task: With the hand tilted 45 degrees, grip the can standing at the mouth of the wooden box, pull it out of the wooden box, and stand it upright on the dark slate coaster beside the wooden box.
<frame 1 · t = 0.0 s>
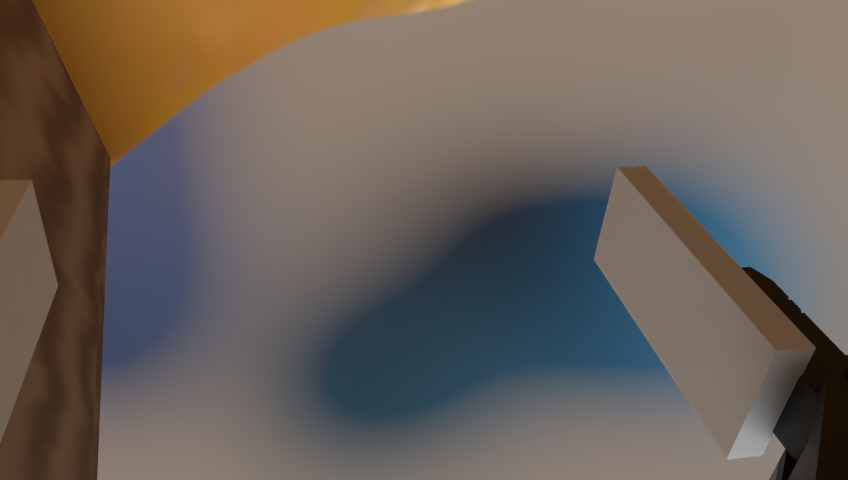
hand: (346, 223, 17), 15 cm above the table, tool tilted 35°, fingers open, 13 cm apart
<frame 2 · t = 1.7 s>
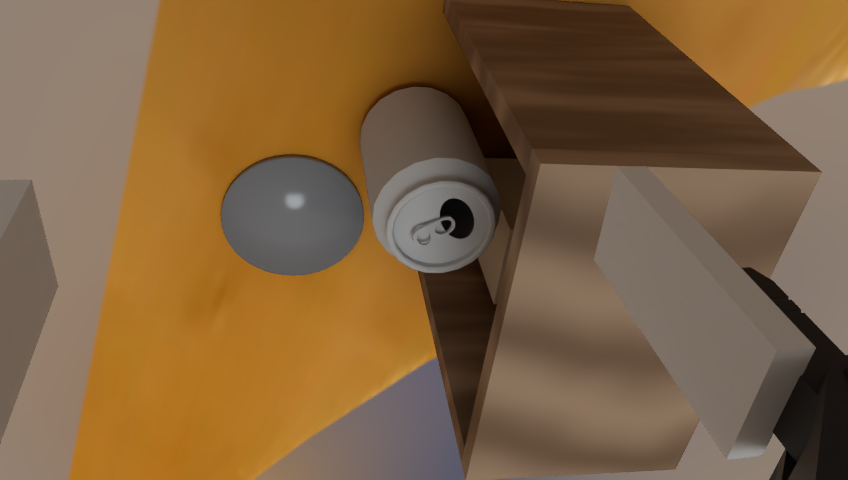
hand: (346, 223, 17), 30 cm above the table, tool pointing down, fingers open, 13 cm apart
wooden box: (511, 136, 51), on the table
can: (412, 130, 50), on the table
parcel: (514, 194, 54), on the table
coaster: (293, 215, 52), on the table
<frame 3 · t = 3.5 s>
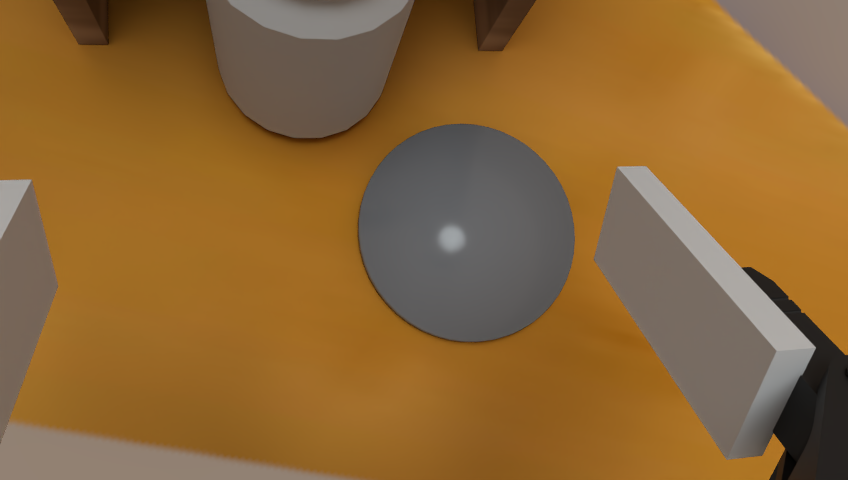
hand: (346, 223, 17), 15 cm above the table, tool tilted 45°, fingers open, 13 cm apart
can: (303, 69, 33), on the table
coaster: (466, 232, 33), on the table
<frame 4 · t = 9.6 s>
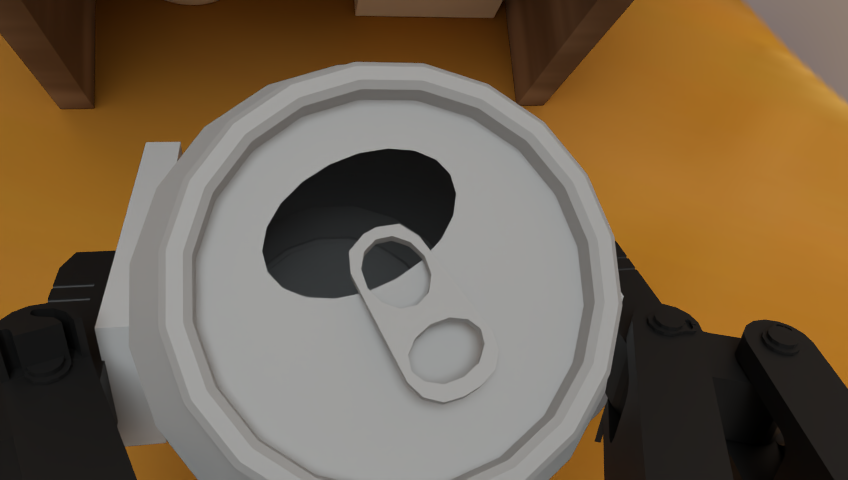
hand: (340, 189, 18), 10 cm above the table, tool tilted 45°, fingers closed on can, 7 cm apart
can: (336, 339, 21), point 6 cm above the table, touching gripper
when the fingers open (6 cm above the table, at t = 12.5 s): can drops 1 cm, resting on coaster.
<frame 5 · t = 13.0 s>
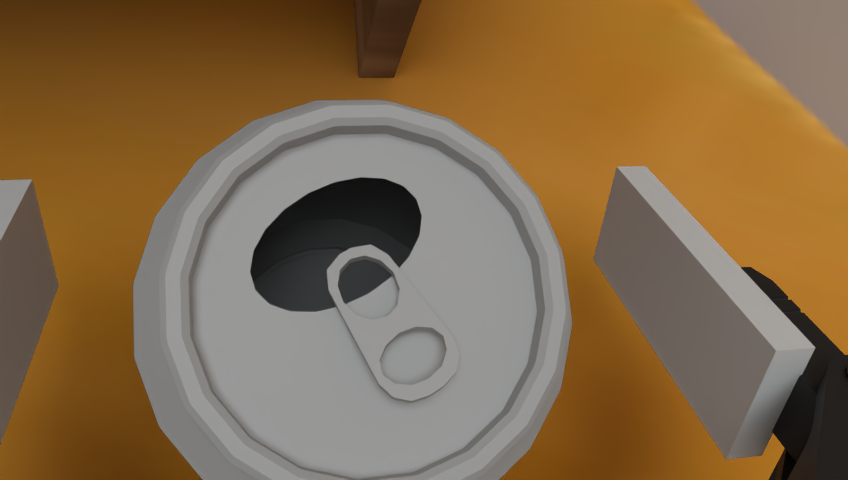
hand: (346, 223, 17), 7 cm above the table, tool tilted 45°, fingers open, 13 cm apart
can: (327, 343, 22), resting on coaster
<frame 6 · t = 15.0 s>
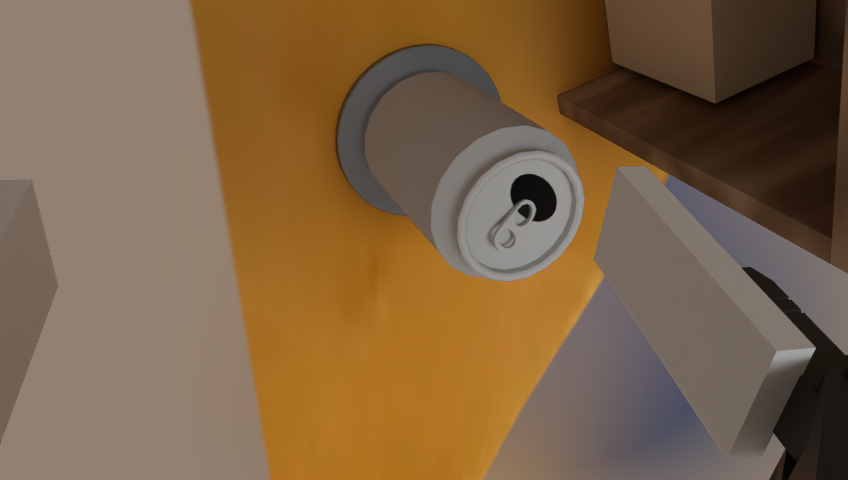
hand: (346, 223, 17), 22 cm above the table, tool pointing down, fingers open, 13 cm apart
can: (421, 132, 41), resting on coaster
coaster: (420, 132, 42), on the table
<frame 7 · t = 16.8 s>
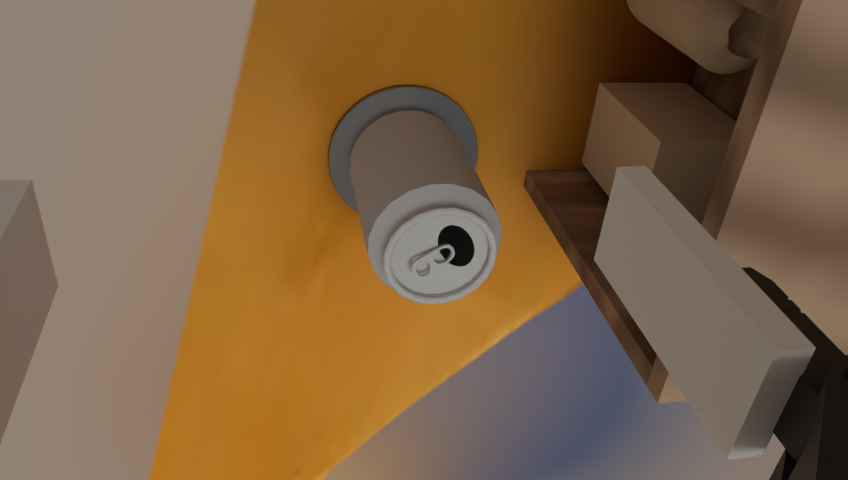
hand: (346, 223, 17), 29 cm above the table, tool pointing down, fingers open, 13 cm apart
wooden box: (633, 56, 48), on the table
can: (403, 155, 48), resting on coaster
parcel: (632, 123, 51), on the table
coaster: (403, 155, 49), on the table
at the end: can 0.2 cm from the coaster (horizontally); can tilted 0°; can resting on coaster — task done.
